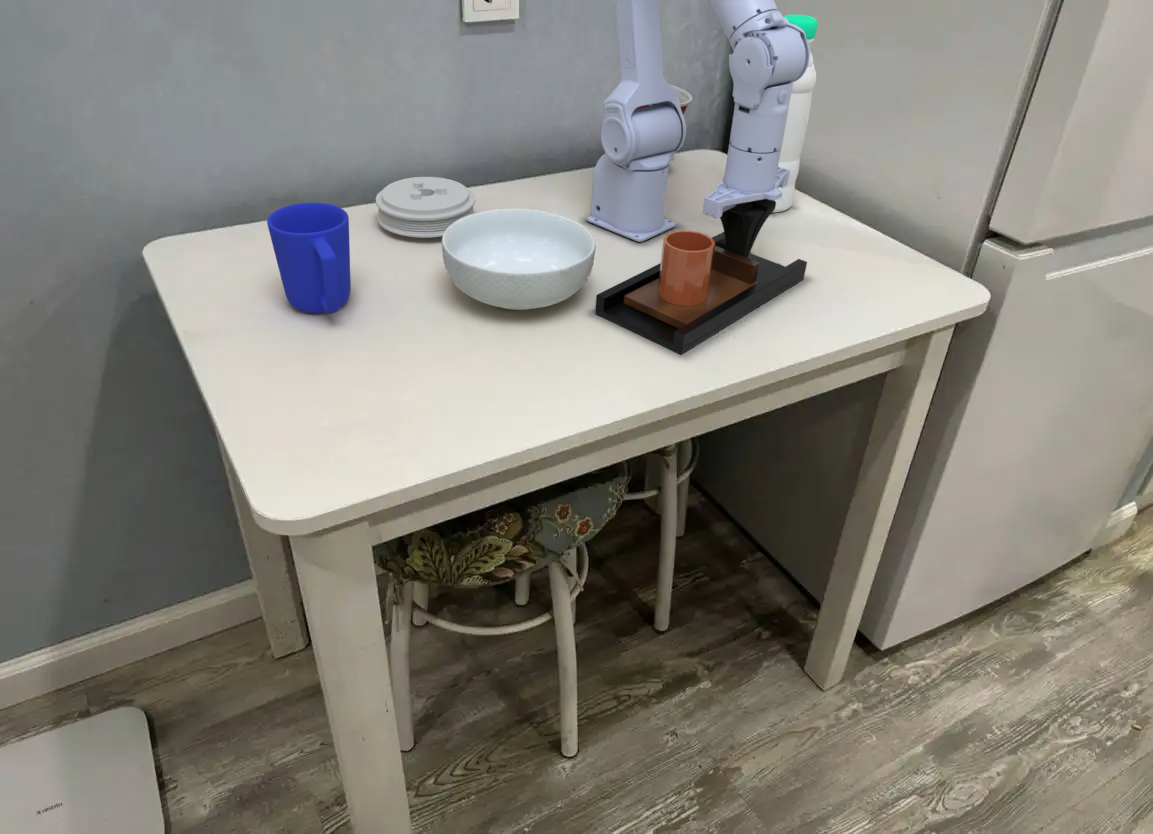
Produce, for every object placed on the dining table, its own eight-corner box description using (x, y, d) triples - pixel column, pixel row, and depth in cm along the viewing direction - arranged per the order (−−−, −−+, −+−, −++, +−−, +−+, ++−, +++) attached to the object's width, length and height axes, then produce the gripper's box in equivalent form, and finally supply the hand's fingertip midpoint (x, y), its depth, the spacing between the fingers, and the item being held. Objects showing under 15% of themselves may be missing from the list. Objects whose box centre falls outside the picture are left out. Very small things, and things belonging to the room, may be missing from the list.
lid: (493, 232, 116) (492, 195, 113) (403, 252, 110) (400, 214, 107) (448, 198, 124) (446, 163, 121) (362, 215, 118) (358, 179, 115)
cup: (648, 293, 100) (653, 240, 96) (677, 278, 103) (683, 225, 100) (687, 311, 97) (694, 256, 93) (716, 294, 101) (724, 241, 97)
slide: (623, 303, 100) (625, 276, 98) (696, 265, 109) (700, 239, 107) (686, 332, 95) (690, 304, 93) (757, 290, 104) (762, 263, 102)
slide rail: (594, 313, 100) (596, 294, 98) (722, 248, 115) (724, 230, 114) (681, 355, 93) (683, 335, 92) (803, 279, 109) (807, 261, 107)
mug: (299, 344, 92) (285, 255, 86) (273, 292, 100) (259, 208, 94) (377, 328, 95) (369, 241, 89) (346, 279, 103) (336, 197, 98)
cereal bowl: (467, 341, 93) (465, 281, 89) (428, 272, 106) (425, 216, 102) (615, 318, 99) (620, 259, 95) (562, 254, 111) (564, 200, 107)
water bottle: (795, 215, 125) (833, 24, 110) (745, 212, 125) (776, 21, 110) (786, 195, 131) (821, 12, 116) (738, 193, 130) (767, 9, 116)
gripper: (749, 170, 92) (730, 288, 100) (820, 139, 101) (797, 250, 109) (693, 152, 95) (679, 267, 103) (767, 124, 104) (749, 232, 112)
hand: (736, 257), depth 106 cm, fingers closed
